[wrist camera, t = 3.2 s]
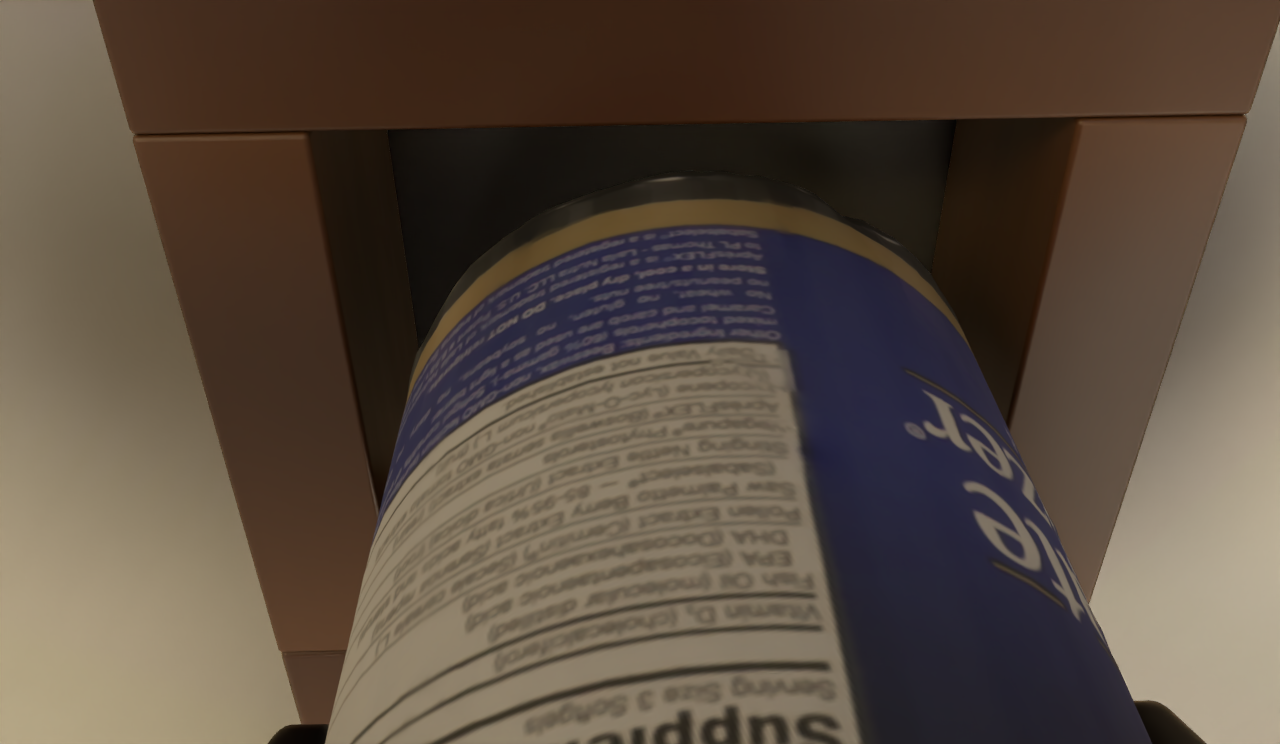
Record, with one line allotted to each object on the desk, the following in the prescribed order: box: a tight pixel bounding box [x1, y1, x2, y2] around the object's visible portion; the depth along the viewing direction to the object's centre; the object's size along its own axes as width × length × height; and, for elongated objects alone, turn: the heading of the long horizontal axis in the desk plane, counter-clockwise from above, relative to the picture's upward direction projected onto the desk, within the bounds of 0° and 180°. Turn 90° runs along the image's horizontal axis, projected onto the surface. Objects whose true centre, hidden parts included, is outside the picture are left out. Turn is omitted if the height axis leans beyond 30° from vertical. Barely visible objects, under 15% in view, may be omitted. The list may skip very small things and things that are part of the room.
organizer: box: [93, 0, 1280, 724], centre depth 16 cm, size 19×10×4 cm, turn 0°
